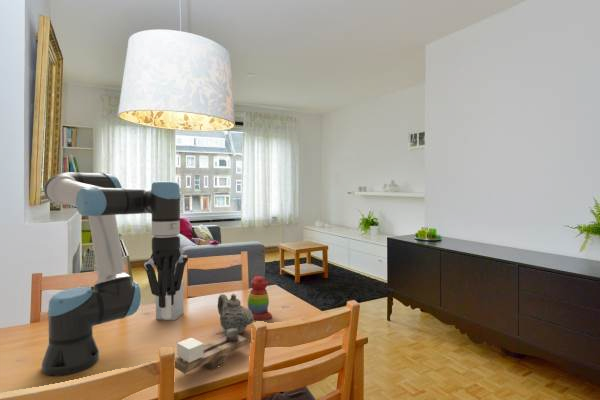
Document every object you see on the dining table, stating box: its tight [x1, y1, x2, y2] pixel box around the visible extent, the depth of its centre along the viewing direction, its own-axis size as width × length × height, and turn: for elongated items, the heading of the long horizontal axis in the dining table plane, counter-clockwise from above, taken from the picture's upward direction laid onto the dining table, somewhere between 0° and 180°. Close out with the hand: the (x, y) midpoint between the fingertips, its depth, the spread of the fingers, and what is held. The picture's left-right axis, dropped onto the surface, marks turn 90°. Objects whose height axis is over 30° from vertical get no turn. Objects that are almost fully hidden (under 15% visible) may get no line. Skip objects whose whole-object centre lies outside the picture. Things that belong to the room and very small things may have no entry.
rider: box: [176, 337, 205, 363], centre depth 104 cm, size 5×6×6 cm
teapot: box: [217, 293, 255, 335], centre depth 136 cm, size 21×12×15 cm, turn 48°
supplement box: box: [155, 280, 185, 321], centre depth 150 cm, size 9×9×15 cm
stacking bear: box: [247, 275, 273, 321], centre depth 152 cm, size 11×10×18 cm
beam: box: [174, 328, 248, 375], centre depth 111 cm, size 24×7×8 cm, turn 141°
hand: (166, 317), depth 98 cm, fingers closed
